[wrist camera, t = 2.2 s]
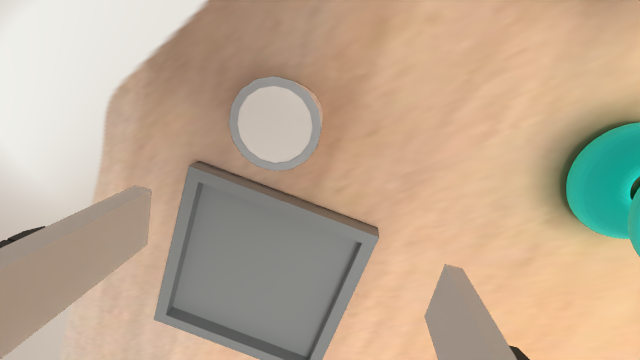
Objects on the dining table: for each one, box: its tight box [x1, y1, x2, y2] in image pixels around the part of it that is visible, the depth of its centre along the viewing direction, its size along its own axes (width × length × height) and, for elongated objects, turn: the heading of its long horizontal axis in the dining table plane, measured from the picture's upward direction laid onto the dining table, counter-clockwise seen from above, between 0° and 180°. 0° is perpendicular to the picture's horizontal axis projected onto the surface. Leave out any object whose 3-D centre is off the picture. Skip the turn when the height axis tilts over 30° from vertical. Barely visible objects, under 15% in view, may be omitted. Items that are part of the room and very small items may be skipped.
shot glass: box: [229, 76, 323, 171], centre depth 27 cm, size 7×7×7 cm
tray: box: [154, 161, 379, 360], centre depth 35 cm, size 19×19×2 cm
